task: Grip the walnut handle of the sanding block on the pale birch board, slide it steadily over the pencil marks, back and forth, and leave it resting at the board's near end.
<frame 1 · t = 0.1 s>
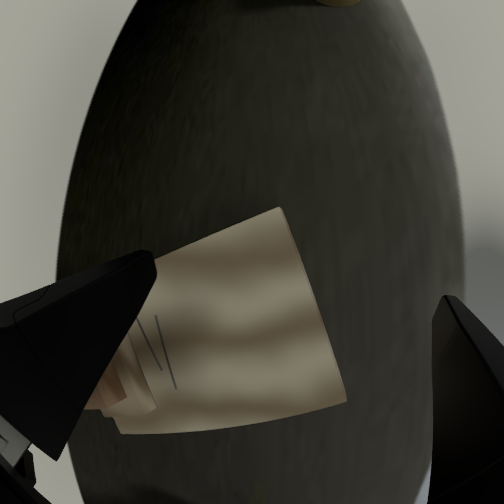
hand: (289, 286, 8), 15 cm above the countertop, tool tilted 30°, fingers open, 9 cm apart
sanding block: (116, 364, 26), point 2 cm above the countertop, touching board
board: (187, 345, 25), on the countertop
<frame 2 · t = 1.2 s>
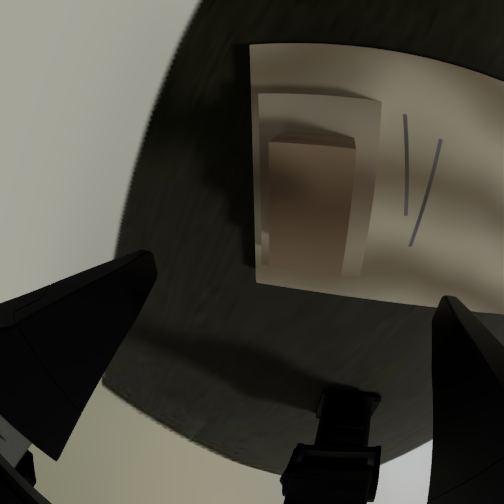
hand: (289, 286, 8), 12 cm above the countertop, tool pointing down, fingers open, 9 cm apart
sanding block: (319, 180, 17), point 2 cm above the countertop, touching board
board: (441, 191, 16), on the countertop
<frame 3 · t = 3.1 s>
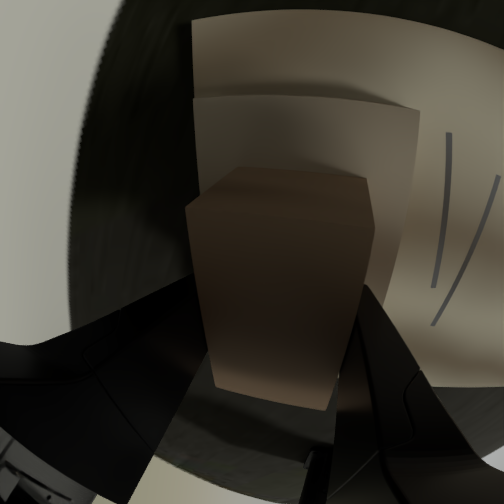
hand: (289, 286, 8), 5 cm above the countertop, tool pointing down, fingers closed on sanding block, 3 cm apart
sanding block: (305, 236, 11), point 2 cm above the countertop, touching board, gripper
board: (483, 246, 10), on the countertop
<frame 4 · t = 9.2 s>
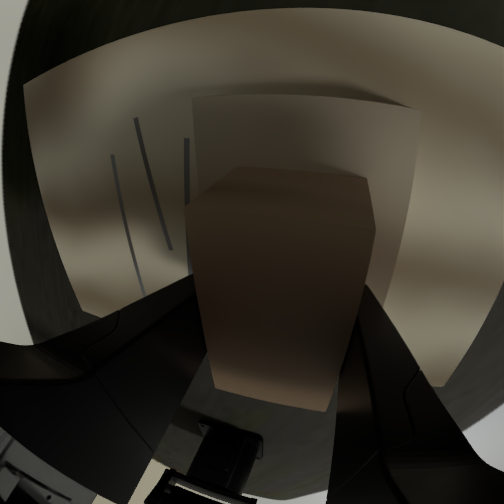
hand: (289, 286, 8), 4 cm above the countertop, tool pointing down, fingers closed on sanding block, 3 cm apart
sanding block: (305, 236, 11), point 2 cm above the countertop, touching gripper
board: (234, 211, 13), on the countertop
when the fingers open (4 cm above the countertop, at t = 15.6 s): sanding block stays where it is, resting on board.
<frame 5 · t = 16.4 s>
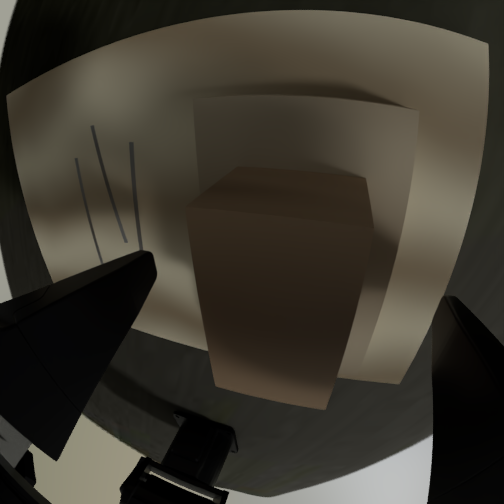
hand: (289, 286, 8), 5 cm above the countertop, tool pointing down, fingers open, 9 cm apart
sanding block: (305, 236, 11), point 1 cm above the countertop, touching board
board: (180, 206, 14), on the countertop
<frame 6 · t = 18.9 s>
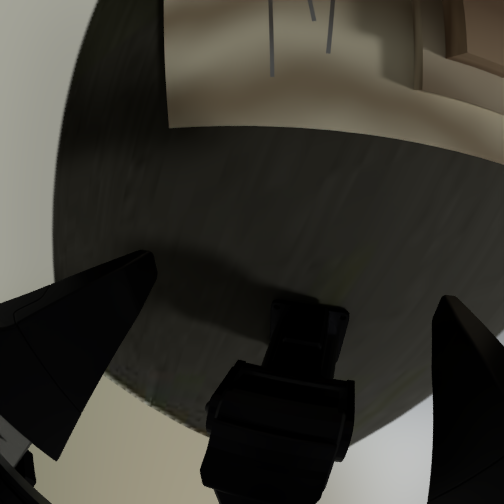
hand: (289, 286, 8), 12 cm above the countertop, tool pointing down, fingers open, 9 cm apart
sanding block: (460, 23, 9), point 1 cm above the countertop, touching board
board: (359, 9, 12), on the countertop
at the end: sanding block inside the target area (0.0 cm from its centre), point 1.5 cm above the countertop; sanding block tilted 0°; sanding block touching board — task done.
